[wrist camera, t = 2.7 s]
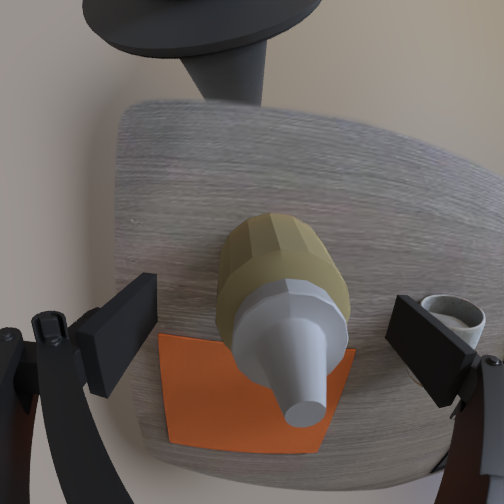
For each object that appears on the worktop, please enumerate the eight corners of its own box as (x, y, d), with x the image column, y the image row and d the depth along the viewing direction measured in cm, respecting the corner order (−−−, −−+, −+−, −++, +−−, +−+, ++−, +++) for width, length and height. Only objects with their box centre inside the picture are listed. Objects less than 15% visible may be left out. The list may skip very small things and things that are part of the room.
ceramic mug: (393, 363, 27) (423, 405, 20) (406, 297, 25) (448, 332, 18) (459, 346, 27) (492, 377, 20) (473, 287, 25) (515, 311, 18)
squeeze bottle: (298, 308, 25) (352, 482, 8) (212, 284, 25) (149, 454, 7) (329, 225, 24) (474, 318, 6) (239, 195, 23) (193, 230, 6)
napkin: (158, 332, 26) (157, 334, 26) (355, 348, 27) (356, 350, 26) (170, 440, 30) (169, 442, 30) (316, 450, 31) (316, 452, 30)
